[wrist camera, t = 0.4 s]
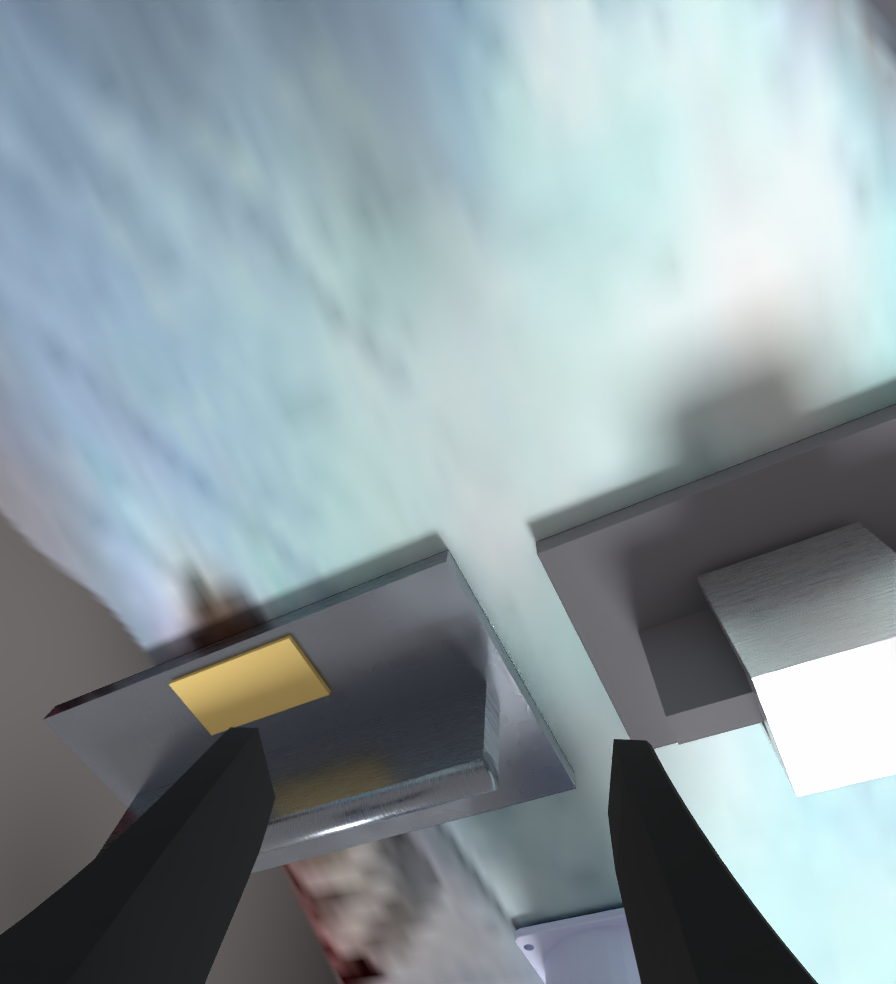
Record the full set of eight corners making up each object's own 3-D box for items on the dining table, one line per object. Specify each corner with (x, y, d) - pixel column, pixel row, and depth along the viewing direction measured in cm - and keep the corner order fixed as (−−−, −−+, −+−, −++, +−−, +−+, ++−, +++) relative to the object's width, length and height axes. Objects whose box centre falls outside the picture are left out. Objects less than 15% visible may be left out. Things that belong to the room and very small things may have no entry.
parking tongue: (1023, 629, 20) (1164, 738, 16) (633, 737, 24) (662, 850, 20) (980, 371, 17) (1143, 420, 13) (536, 542, 21) (544, 626, 16)
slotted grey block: (888, 633, 19) (998, 749, 15) (736, 677, 21) (797, 796, 16) (858, 521, 18) (970, 615, 14) (696, 577, 19) (751, 678, 15)
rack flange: (573, 772, 25) (589, 892, 20) (210, 870, 30) (158, 983, 26) (448, 549, 21) (432, 637, 17) (55, 706, 26) (-40, 805, 22)
